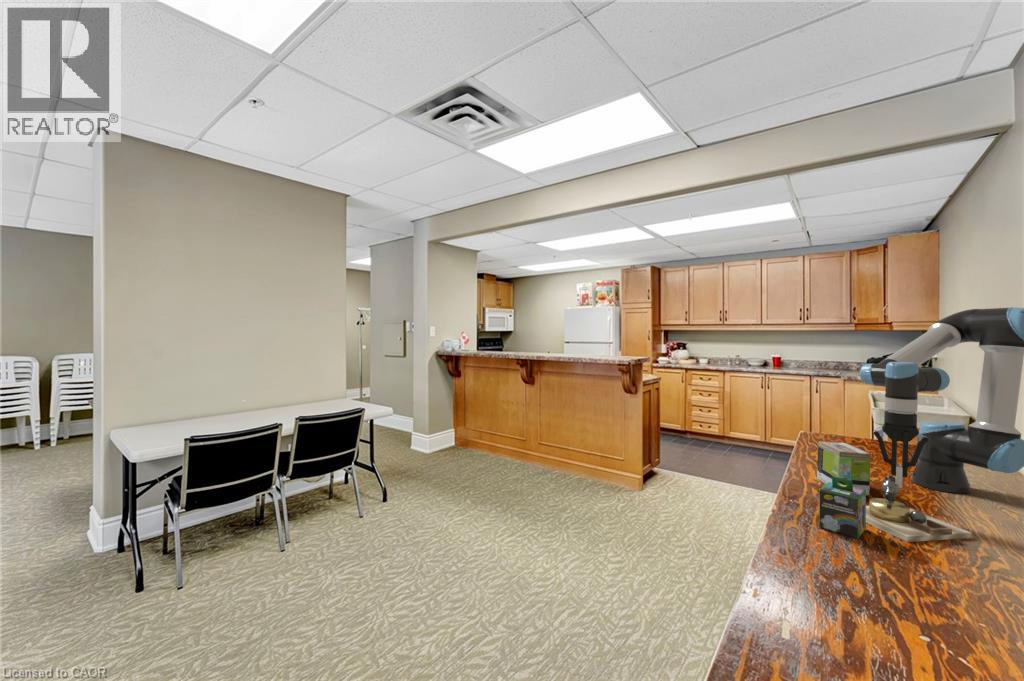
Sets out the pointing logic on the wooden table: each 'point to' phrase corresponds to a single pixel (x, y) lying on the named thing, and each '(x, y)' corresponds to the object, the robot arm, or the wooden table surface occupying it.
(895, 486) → the capstan
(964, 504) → the wooden table surface
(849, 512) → the chalk box
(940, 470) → the robot arm
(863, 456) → the tea box
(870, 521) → the stand board
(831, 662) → the wooden table surface
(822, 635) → the wooden table surface
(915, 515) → the ball
